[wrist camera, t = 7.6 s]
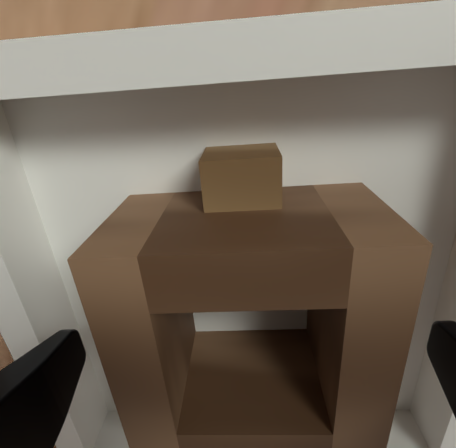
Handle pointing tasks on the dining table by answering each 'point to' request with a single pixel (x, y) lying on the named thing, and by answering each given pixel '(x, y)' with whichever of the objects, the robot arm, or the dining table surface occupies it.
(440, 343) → the robot arm
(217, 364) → the brown hollow block
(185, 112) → the tray
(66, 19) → the dining table surface
